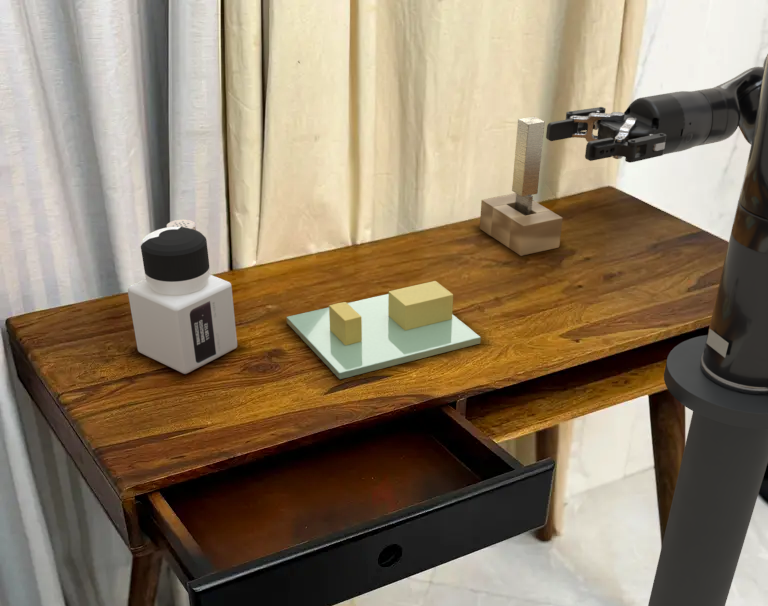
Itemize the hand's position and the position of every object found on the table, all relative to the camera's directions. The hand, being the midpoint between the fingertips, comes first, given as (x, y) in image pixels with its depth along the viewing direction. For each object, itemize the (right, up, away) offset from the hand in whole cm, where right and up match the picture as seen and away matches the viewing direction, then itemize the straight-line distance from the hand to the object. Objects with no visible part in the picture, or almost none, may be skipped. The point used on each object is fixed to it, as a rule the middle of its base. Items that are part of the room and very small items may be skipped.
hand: (567, 141), depth 125 cm
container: (-44, -30, -19) cm, 57 cm away
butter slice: (-28, -28, -18) cm, 43 cm away
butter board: (-24, -27, -16) cm, 39 cm away
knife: (-5, -11, +5) cm, 13 cm away
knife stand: (-6, -11, +5) cm, 13 cm away
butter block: (-19, -25, -15) cm, 35 cm away
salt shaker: (-46, -23, -10) cm, 52 cm away
